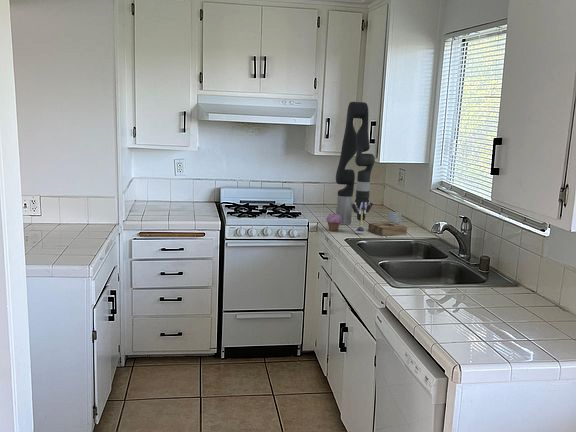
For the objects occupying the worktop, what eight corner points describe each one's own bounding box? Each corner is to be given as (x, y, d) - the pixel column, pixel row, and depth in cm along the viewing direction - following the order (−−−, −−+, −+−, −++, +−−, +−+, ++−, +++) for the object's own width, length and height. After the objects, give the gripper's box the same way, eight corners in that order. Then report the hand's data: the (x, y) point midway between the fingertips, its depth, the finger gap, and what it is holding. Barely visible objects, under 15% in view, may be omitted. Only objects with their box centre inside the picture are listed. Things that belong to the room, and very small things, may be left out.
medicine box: (400, 226, 355) (401, 212, 354) (400, 228, 351) (401, 213, 349) (387, 225, 357) (388, 211, 356) (387, 226, 353) (388, 212, 351)
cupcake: (324, 228, 340) (325, 211, 338) (338, 228, 342) (339, 212, 340) (328, 232, 332) (329, 214, 330) (342, 232, 333) (343, 214, 331)
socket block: (368, 230, 340) (368, 222, 339) (391, 229, 346) (391, 221, 345) (382, 236, 326) (383, 227, 326) (406, 234, 333) (406, 226, 332)
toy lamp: (354, 230, 329) (356, 201, 325) (358, 229, 332) (360, 200, 329) (361, 231, 326) (363, 202, 322) (366, 230, 329) (368, 201, 326)
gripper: (369, 188, 330) (367, 218, 334) (348, 188, 325) (346, 219, 328) (377, 190, 324) (374, 220, 327) (355, 190, 318) (353, 222, 322)
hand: (360, 220), depth 328 cm, fingers closed on toy lamp
